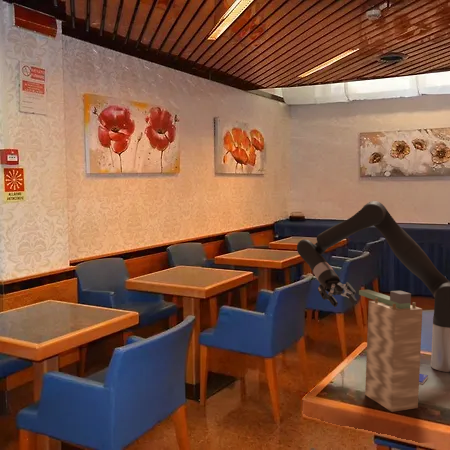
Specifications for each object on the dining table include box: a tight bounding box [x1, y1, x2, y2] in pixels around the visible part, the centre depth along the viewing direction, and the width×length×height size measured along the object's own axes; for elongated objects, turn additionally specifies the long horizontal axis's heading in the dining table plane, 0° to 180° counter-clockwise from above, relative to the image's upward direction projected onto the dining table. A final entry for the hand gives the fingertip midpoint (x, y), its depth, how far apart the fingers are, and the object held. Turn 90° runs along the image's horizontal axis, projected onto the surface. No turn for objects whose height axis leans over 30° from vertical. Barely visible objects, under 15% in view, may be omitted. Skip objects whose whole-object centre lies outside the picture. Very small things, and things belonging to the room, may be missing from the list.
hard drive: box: [419, 373, 429, 385], centre depth 192 cm, size 2×8×12 cm
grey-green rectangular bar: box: [358, 289, 412, 309], centre depth 173 cm, size 22×4×5 cm, turn 20°
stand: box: [364, 298, 423, 413], centre depth 169 cm, size 14×10×34 cm
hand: (345, 304), depth 197 cm, fingers open, 8 cm apart
